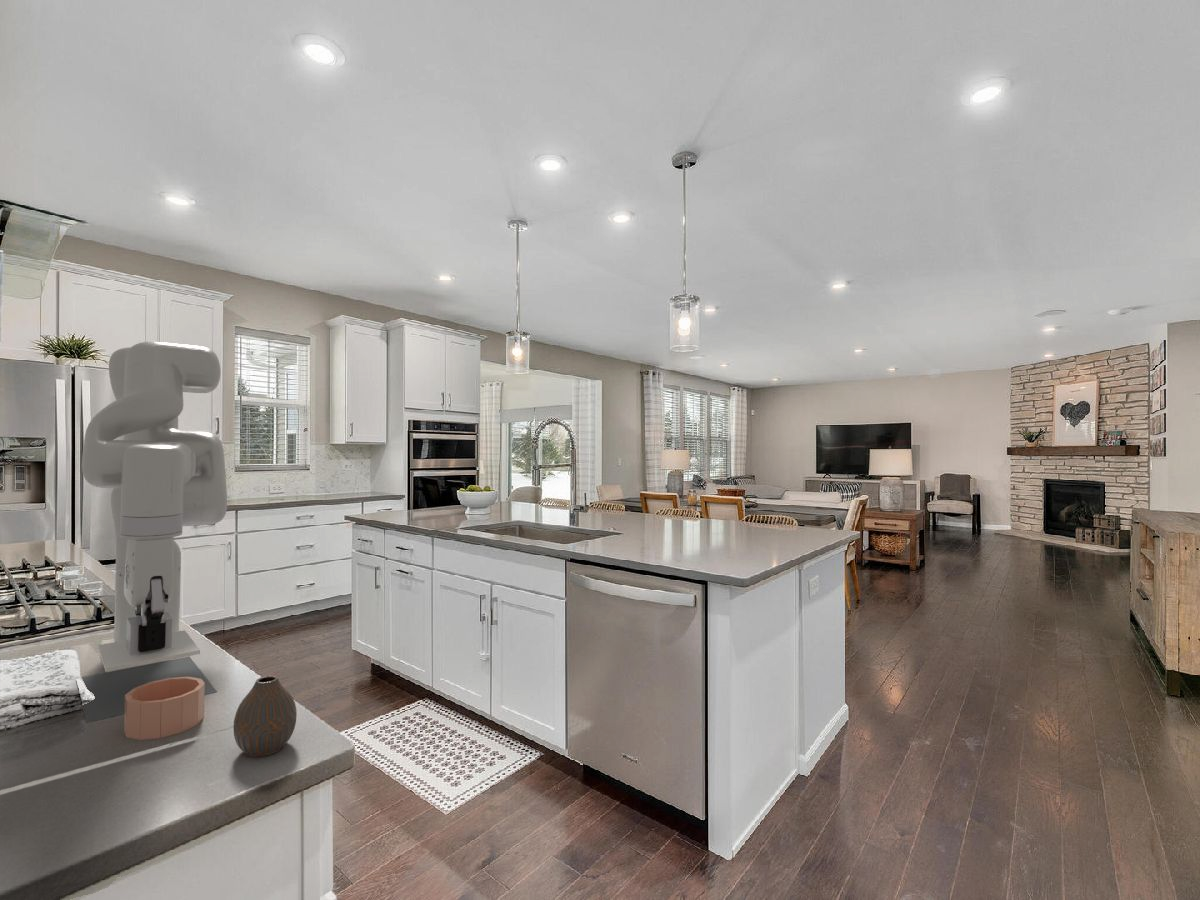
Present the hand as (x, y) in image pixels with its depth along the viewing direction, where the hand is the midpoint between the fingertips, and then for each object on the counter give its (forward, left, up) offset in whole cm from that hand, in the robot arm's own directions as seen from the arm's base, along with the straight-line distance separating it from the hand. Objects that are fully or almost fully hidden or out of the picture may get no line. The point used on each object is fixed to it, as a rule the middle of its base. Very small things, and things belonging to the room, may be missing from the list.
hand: (149, 644), depth 89 cm
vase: (+30, +8, -7) cm, 32 cm away
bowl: (+15, 0, -7) cm, 17 cm away
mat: (-2, 0, -7) cm, 8 cm away
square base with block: (0, 0, -1) cm, 1 cm away
